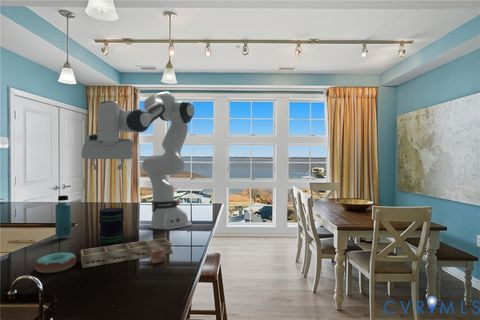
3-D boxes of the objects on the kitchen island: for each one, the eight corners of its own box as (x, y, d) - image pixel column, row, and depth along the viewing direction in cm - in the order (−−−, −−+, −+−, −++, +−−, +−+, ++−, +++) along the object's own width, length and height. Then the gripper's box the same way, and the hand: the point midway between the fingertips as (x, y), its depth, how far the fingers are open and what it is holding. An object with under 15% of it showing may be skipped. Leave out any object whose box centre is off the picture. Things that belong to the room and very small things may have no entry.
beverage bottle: (64, 240, 133) (63, 196, 133) (51, 240, 134) (51, 196, 134) (74, 237, 139) (74, 194, 139) (62, 236, 141) (62, 194, 141)
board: (164, 246, 123) (164, 238, 123) (172, 252, 114) (172, 243, 114) (80, 259, 107) (80, 249, 107) (82, 268, 98) (82, 257, 98)
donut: (71, 272, 95) (71, 260, 95) (28, 277, 91) (28, 264, 92) (80, 260, 106) (80, 249, 106) (42, 264, 103) (42, 252, 103)
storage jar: (129, 242, 130) (128, 208, 130) (112, 248, 121) (112, 211, 121) (111, 240, 133) (110, 207, 134) (93, 246, 124) (93, 210, 124)
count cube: (161, 258, 108) (161, 247, 108) (164, 261, 105) (164, 250, 105) (150, 260, 106) (150, 249, 106) (153, 263, 103) (153, 252, 103)
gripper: (132, 139, 136) (132, 169, 135) (81, 137, 126) (81, 169, 126) (134, 138, 130) (134, 169, 130) (82, 136, 120) (81, 169, 120)
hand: (107, 169), depth 128 cm, fingers open, 8 cm apart
